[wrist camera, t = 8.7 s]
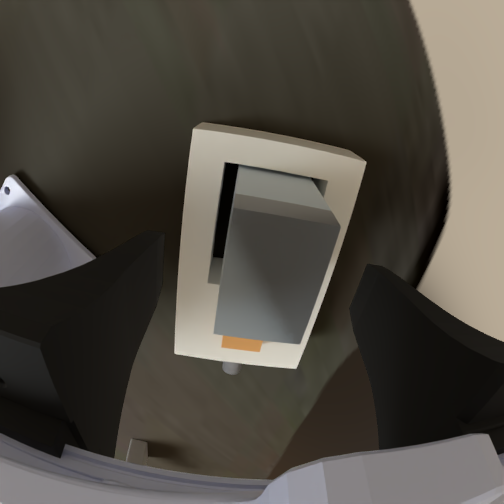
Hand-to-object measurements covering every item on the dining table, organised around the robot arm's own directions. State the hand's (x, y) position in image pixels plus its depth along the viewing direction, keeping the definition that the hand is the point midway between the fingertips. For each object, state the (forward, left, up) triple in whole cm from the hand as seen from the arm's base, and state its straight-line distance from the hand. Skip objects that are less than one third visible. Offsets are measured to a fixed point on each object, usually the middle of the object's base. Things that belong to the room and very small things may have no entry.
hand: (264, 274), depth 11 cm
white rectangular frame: (-2, -2, -5) cm, 6 cm away
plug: (0, 0, -6) cm, 6 cm away
